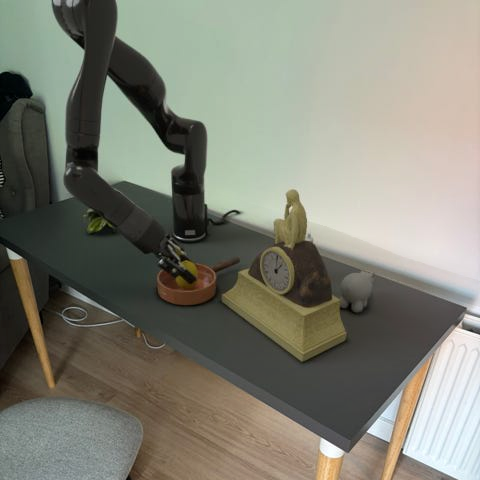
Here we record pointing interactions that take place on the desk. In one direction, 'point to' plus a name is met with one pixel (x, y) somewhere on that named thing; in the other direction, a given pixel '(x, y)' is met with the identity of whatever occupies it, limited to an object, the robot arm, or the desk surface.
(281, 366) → the desk surface
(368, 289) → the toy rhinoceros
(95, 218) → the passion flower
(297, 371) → the desk surface
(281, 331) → the decorative clock
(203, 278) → the pan
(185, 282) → the lemon
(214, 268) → the pan handle
